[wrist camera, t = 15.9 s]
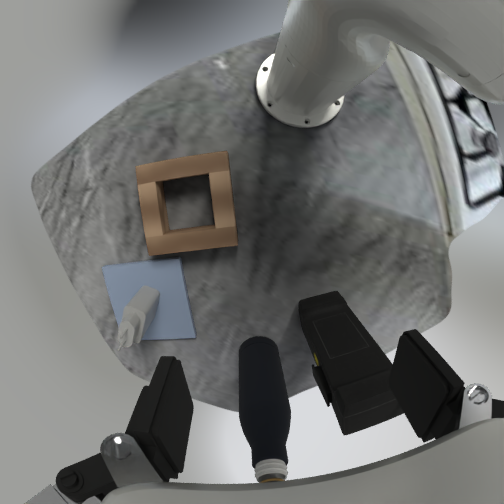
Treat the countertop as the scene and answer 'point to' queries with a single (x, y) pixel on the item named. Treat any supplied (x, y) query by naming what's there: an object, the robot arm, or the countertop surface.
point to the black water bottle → (264, 408)
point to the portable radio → (347, 364)
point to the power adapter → (138, 316)
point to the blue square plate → (170, 302)
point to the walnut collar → (156, 213)
